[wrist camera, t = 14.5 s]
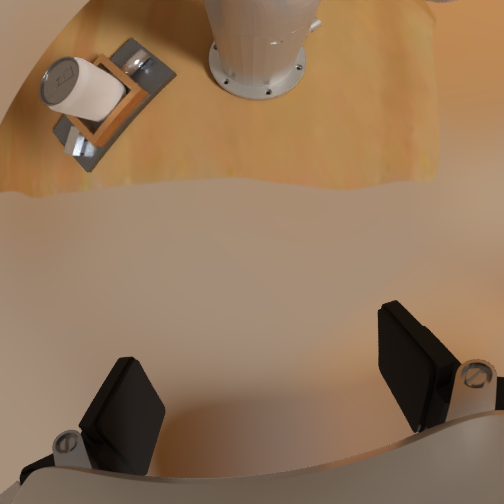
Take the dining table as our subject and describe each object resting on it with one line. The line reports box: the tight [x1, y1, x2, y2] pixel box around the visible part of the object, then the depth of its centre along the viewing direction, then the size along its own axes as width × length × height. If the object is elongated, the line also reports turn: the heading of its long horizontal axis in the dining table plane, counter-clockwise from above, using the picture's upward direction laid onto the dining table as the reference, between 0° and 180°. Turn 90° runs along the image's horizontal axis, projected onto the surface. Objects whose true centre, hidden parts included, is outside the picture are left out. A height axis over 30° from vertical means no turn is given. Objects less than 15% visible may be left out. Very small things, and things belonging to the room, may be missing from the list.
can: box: [39, 57, 126, 122], centre depth 25 cm, size 6×6×12 cm
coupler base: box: [53, 38, 177, 172], centre depth 30 cm, size 18×10×4 cm, turn 134°
